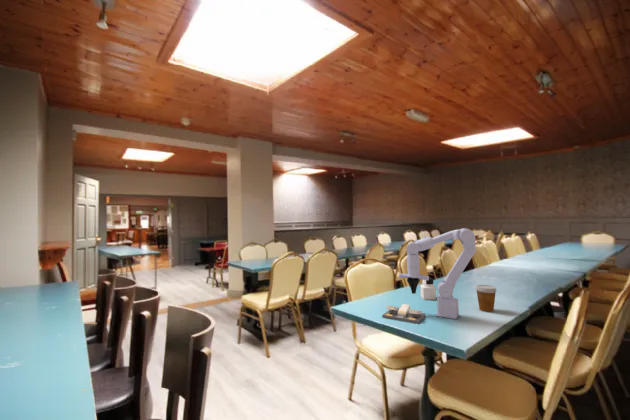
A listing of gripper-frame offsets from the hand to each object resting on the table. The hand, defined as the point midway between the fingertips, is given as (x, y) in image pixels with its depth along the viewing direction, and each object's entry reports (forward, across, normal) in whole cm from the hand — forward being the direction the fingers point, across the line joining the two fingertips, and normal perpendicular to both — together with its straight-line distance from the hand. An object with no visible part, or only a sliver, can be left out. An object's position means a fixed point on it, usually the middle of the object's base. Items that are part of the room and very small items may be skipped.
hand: (413, 293), depth 157 cm
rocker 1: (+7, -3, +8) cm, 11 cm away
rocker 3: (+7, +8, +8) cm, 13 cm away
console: (+10, +2, +8) cm, 13 cm away
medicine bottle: (+10, +1, -32) cm, 34 cm away
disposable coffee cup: (+10, -30, -23) cm, 39 cm away
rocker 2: (+7, +2, +8) cm, 11 cm away
